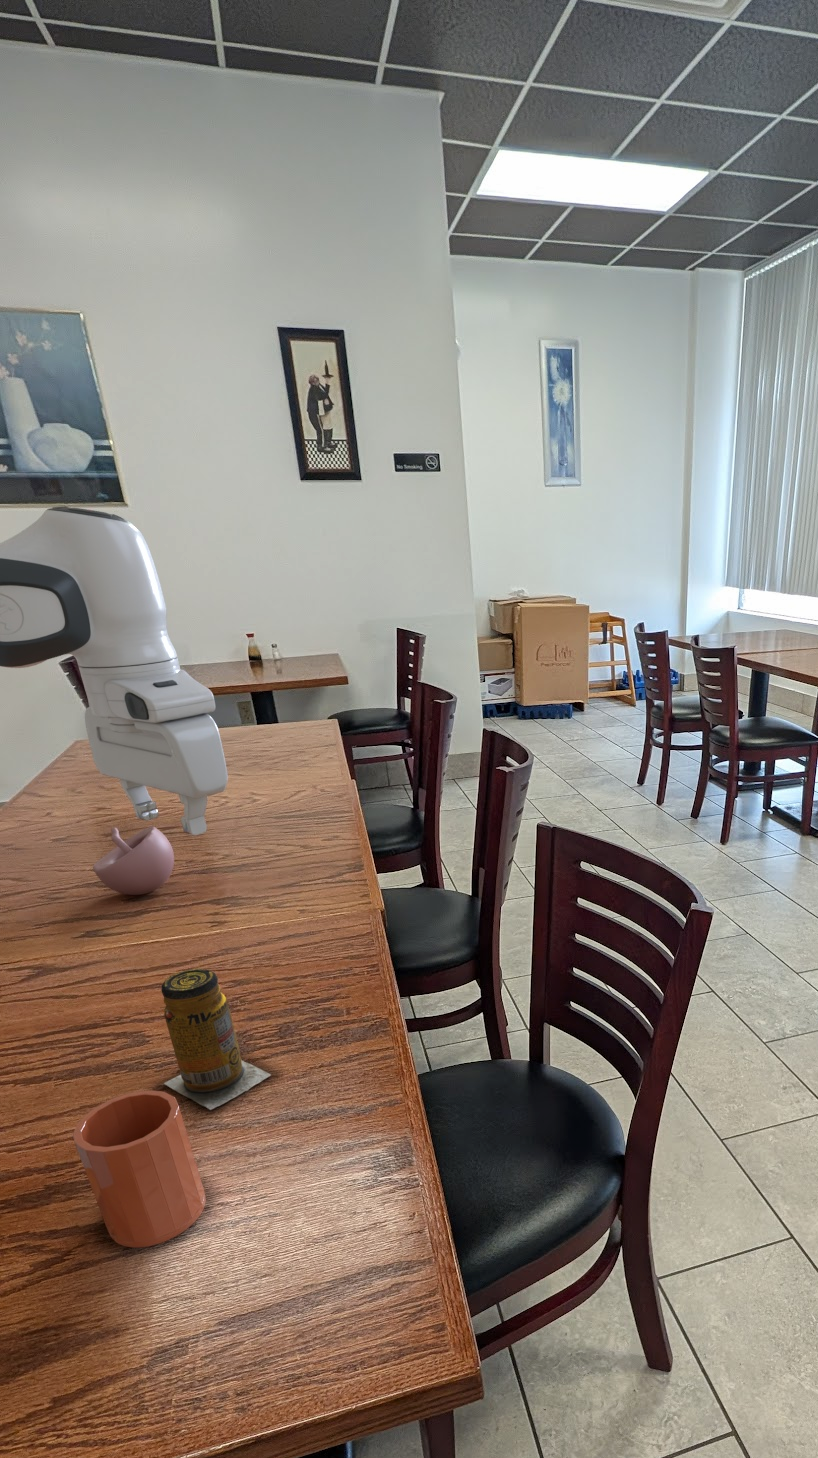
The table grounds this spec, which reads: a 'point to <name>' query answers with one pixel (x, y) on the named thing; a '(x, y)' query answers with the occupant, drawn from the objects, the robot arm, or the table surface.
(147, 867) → the mortar and pestle
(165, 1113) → the terracotta cup
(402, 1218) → the table surface
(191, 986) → the condiment
